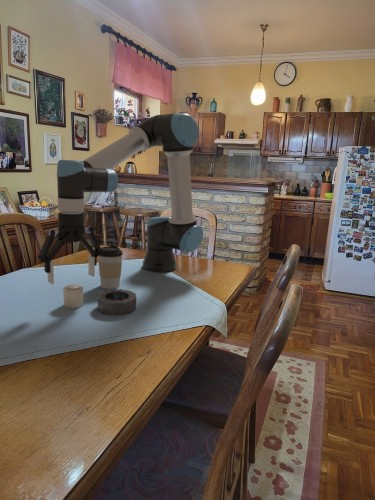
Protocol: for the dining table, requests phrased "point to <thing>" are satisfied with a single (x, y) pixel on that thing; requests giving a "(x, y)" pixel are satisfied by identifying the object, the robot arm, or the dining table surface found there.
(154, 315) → the dining table surface
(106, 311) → the dark round ashtray
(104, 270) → the coffee cup
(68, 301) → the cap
